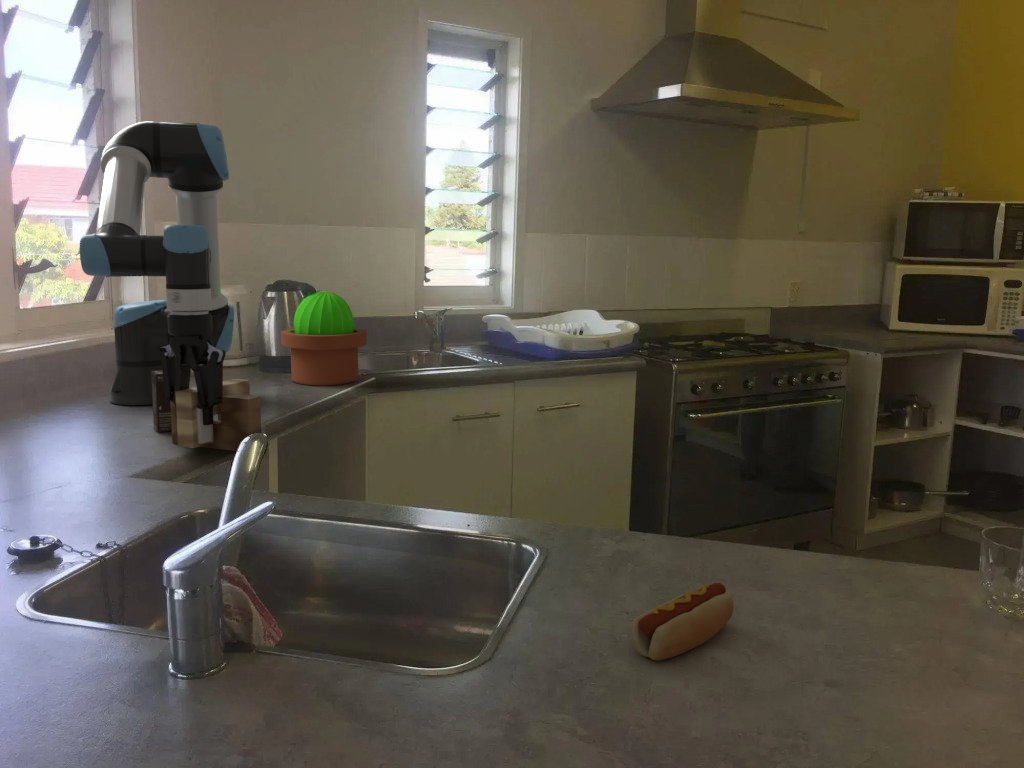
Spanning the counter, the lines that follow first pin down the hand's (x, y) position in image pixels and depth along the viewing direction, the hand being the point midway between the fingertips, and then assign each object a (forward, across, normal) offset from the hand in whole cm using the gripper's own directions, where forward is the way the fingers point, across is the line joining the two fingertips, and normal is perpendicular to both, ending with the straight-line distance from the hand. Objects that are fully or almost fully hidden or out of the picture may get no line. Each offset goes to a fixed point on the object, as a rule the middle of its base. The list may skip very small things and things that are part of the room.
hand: (195, 440), depth 160 cm
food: (+3, +97, -40) cm, 105 cm away
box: (+2, -18, +13) cm, 22 cm away
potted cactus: (+2, -24, +77) cm, 81 cm away
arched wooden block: (+1, 0, +5) cm, 5 cm away
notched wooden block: (+2, 0, +6) cm, 6 cm away
